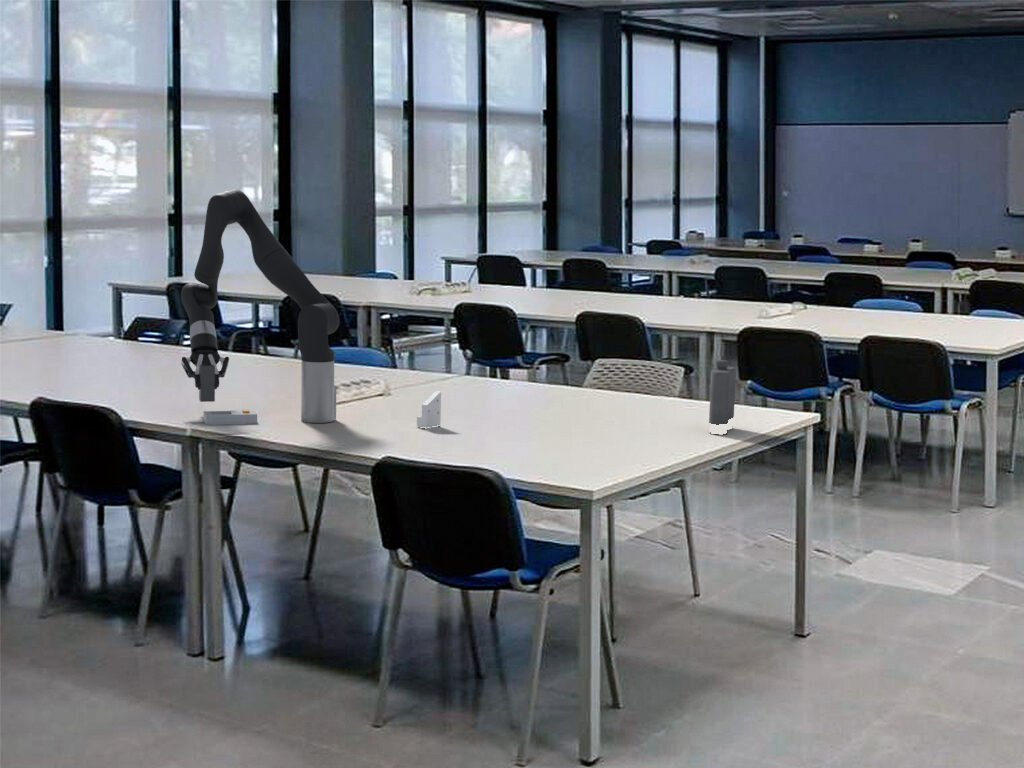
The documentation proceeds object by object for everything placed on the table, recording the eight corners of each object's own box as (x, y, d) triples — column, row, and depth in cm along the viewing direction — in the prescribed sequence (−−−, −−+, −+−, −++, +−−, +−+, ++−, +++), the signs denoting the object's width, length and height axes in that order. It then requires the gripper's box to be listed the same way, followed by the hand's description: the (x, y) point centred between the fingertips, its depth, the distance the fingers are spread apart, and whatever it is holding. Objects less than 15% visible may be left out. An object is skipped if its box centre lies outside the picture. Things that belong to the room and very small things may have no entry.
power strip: (253, 420, 427) (253, 408, 427) (257, 424, 420) (257, 412, 420) (203, 422, 423) (203, 409, 422) (205, 426, 416) (205, 413, 416)
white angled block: (450, 416, 427) (441, 391, 423) (429, 437, 421) (419, 412, 417) (441, 414, 430) (431, 390, 425) (420, 436, 424) (409, 410, 419)
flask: (714, 426, 436) (717, 357, 433) (734, 427, 434) (737, 358, 432) (704, 434, 422) (707, 363, 419) (725, 436, 420) (728, 364, 418)
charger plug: (213, 399, 434) (213, 364, 432) (214, 401, 430) (214, 366, 429) (199, 399, 433) (199, 364, 431) (200, 401, 429) (200, 366, 427)
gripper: (179, 332, 434) (182, 380, 424) (229, 331, 438) (234, 379, 428) (177, 348, 439) (181, 396, 430) (227, 347, 444) (231, 395, 434)
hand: (207, 387), depth 429 cm, fingers closed on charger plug, 4 cm apart
